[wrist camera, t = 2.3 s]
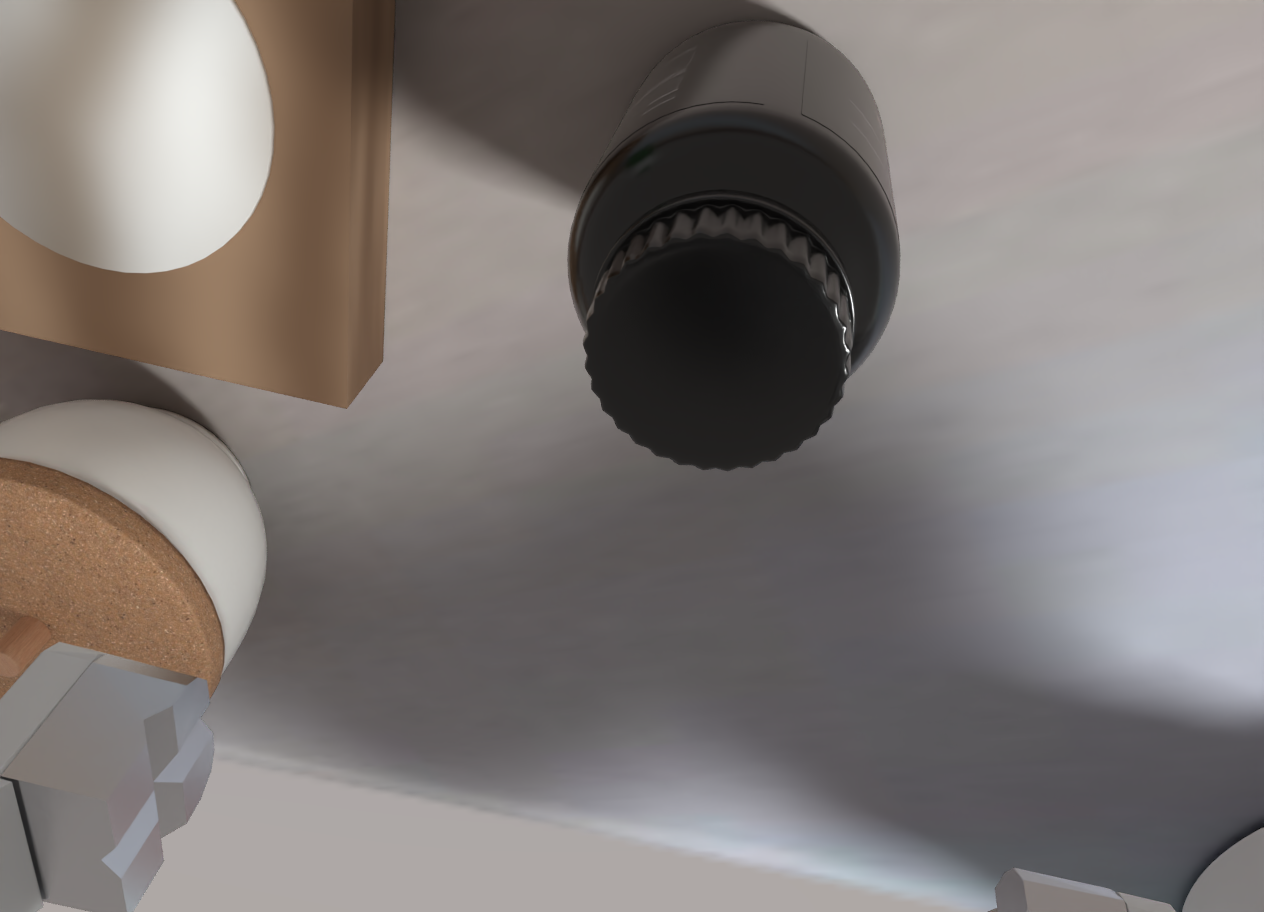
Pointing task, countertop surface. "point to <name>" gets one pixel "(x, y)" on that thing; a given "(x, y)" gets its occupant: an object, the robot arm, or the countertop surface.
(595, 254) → the supplement bottle
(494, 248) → the countertop surface
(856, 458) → the countertop surface
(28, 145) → the brown flat wooden block
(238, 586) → the lidded jar
